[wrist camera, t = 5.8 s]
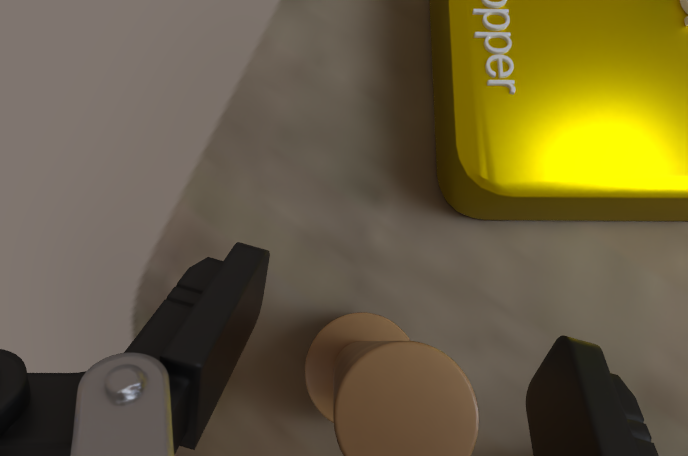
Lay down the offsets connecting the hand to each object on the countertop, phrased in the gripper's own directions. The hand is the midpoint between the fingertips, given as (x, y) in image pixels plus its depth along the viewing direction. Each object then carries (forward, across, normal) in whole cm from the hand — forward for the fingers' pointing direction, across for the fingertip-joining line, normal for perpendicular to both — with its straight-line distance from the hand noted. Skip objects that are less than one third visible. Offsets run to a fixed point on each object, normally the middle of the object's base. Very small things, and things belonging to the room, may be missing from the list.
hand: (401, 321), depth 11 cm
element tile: (+19, -7, -2) cm, 20 cm away
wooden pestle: (+7, 0, +9) cm, 12 cm away
